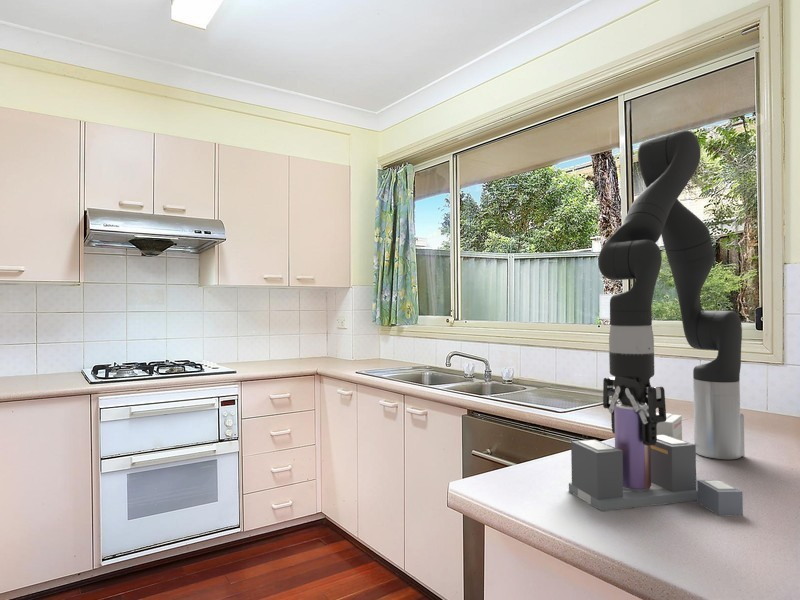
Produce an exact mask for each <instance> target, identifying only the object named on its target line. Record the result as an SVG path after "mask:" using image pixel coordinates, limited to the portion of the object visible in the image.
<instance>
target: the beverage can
mask: <svg viewBox="0 0 800 600" xmlns="http://www.w3.org/2000/svg"><path fill="white" fill-rule="evenodd" d="M615 405H616V407H615V409H614V418H615V434H614V447H615V448H617V449H619V450H622V454H623V489H624V490H627V491H633V492H644V491H647V490H649V488H650V487H651V445H649V446H647V445H644V444H643V442H642V424H644V423H643V422H642V419H641V417H640V415H639V413H637V412H635V410H634V408H633V407H631V406H629V405H623V404H622V402H618V403H616V404H615ZM645 405H647V404H646V403H645ZM645 405H644V406H645ZM646 414H647V416H649V413H648V412H646Z"/></svg>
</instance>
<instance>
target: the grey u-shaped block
mask: <svg viewBox="0 0 800 600" xmlns="http://www.w3.org/2000/svg"><path fill="white" fill-rule="evenodd" d="M570 443H571V445H570V448H571V452H570V453H571V461H570V462H571V482H568V491H569V493H571V494H573V495H575V496H576V497H578V498H579V499H581V500H582V501H584V502H586V503H587V504H589V505H591V506H592V507H594V508H596V509H597V510H598V511H601V512H602V511H603V512H605V511H613V510H623V509H630V508H632V507H633V508H639V507H641V506H642V507H650V506H658V505H667V504H668V505H669V504H677V503H685V502H694V501H695V502H696V501H698V493H697V455H696V454H697V453H696V445H695V444H694V443H691V442H688V441H685V440H683V439H682V440H679V439H676V438H673V437H670V436H667V435H657V441H656V444H655V445H651V487H650V488H649V490H647V491H644V492H633V491H627V490H624V489H623V454H622V450H619V449H617V448H615V446H612V445H609V444H606V443H605V442H602V441H600V440H597V439H586V440H585V439H584V440H572V441H571V442H570Z"/></svg>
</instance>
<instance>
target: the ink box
mask: <svg viewBox="0 0 800 600" xmlns="http://www.w3.org/2000/svg"><path fill="white" fill-rule="evenodd" d="M656 414H657V415H659V412H657V411H656ZM682 421H683V419H682V415H681V414H680V415H679V414H672V413H670V412H669V413H667V412H666V421H665V422H659V423H657V435H667V436H670V437H673V438H676V439H679V440H682V441H683V426H682Z"/></svg>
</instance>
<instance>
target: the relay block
mask: <svg viewBox="0 0 800 600" xmlns="http://www.w3.org/2000/svg"><path fill="white" fill-rule="evenodd" d="M696 490H697V493H698V500H697V503H699V504H700V505H701V504H702V505H701V506H703V507H704V506H705V507H704V508H706V507H707V508H708V509H707V508H706V509H707V510H709V511H710V512H712V511H713V512H712V513H714V514H715V513H716V515H717V516H719V517H721V515H732V516H743V515H744V510H743V509H744V506H743V505H744V504H743V503H744V498H743V496H744V495H743V491H742V490H740V489H738V488H737V487H735V486H732V485H731V484H729V483H727V482H725V481H723V480H721V479H696Z"/></svg>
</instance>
